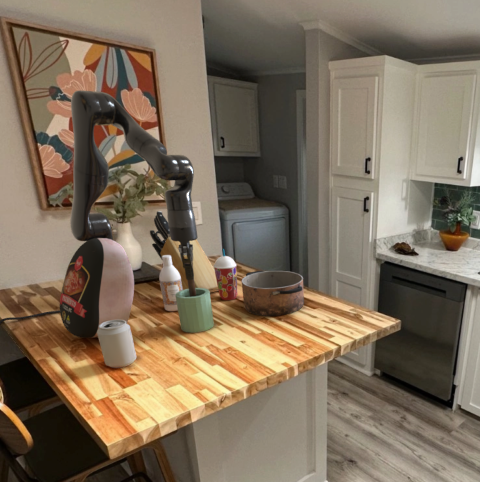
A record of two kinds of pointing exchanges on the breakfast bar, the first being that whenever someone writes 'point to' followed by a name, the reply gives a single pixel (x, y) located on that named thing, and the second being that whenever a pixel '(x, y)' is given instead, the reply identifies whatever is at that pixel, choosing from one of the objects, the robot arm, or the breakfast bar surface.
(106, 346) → the can
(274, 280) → the cooking pot
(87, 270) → the packaged food
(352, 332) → the breakfast bar surface
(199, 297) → the jar
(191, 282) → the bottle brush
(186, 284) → the knife block
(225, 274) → the smoothie
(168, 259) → the bath foam
